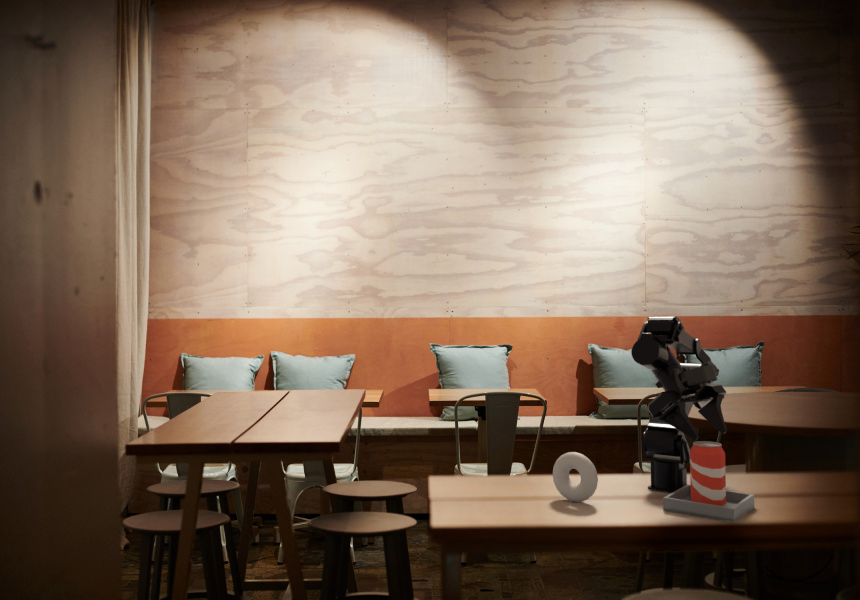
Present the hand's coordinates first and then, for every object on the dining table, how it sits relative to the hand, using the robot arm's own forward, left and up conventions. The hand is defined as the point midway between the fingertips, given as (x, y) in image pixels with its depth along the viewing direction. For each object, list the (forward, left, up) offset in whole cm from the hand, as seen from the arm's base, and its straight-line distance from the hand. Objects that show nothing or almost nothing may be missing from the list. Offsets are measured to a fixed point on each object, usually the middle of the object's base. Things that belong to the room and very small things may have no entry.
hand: (711, 435), depth 138 cm
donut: (-22, -15, -14) cm, 30 cm away
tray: (+1, -4, -13) cm, 14 cm away
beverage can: (+1, -4, -13) cm, 14 cm away
